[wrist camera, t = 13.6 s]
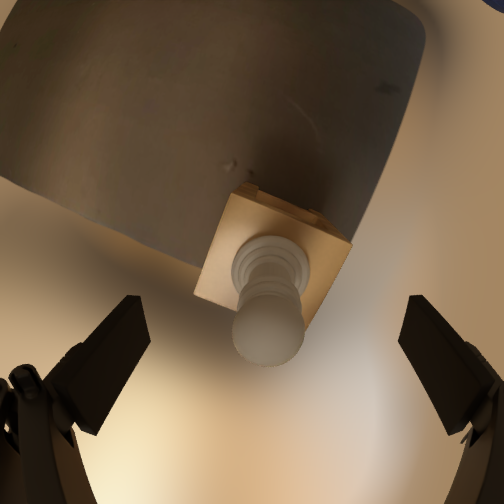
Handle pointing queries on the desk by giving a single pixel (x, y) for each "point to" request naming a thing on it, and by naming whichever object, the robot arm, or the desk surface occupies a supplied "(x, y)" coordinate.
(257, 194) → the shelf
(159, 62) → the desk surface
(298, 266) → the chess piece
